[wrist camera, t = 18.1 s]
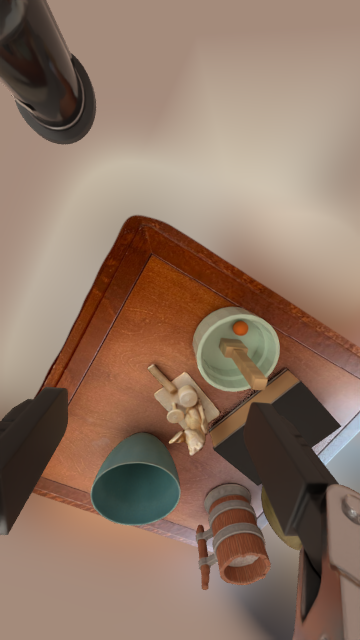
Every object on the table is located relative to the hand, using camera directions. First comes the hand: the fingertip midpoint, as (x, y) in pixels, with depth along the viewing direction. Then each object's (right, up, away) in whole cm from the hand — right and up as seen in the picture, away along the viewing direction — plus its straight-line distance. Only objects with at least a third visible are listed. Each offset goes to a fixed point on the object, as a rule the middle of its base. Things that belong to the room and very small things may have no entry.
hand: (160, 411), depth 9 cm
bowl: (+12, -1, +39) cm, 41 cm away
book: (+23, -21, +46) cm, 56 cm away
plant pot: (-9, -29, +46) cm, 55 cm away
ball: (+14, +2, +36) cm, 38 cm away
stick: (+12, -1, +38) cm, 40 cm away
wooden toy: (+1, -14, +42) cm, 45 cm away
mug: (+13, -51, +54) cm, 76 cm away
